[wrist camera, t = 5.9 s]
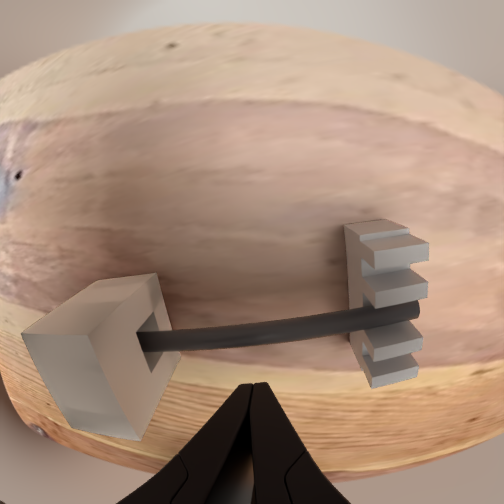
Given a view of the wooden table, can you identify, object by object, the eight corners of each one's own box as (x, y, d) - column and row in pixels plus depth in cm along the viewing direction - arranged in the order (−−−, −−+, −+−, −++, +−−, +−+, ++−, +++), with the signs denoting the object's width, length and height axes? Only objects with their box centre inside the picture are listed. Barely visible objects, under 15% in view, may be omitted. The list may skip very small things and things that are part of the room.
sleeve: (156, 272, 15) (87, 335, 8) (180, 356, 16) (140, 441, 9) (96, 280, 15) (20, 333, 8) (123, 357, 16) (71, 427, 10)
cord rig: (386, 219, 14) (432, 238, 9) (386, 335, 16) (418, 384, 11) (68, 266, 16) (18, 293, 11) (101, 360, 18) (66, 401, 13)
